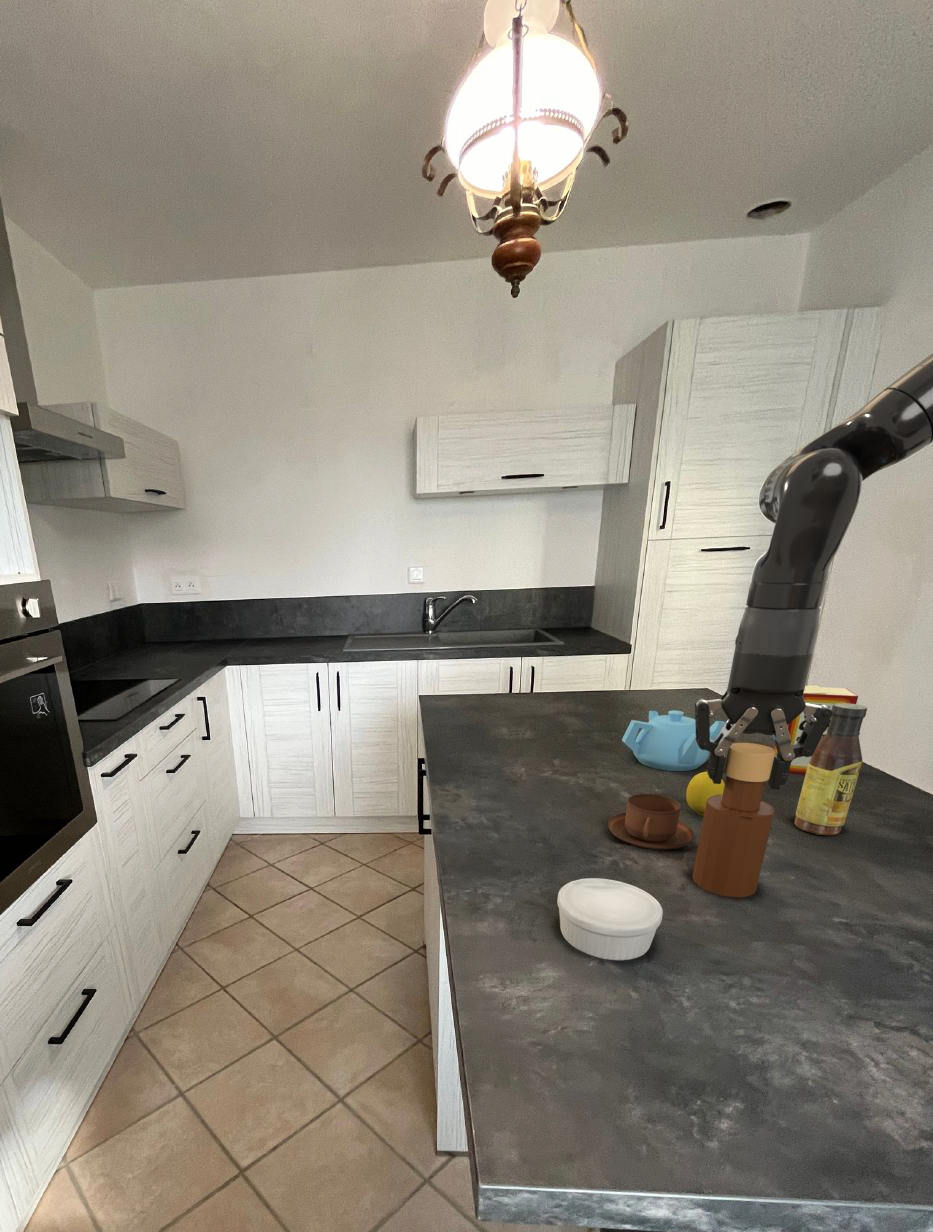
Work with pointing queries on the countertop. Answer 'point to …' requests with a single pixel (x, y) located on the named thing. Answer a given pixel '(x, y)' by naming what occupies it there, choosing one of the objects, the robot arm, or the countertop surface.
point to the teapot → (668, 741)
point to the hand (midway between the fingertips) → (744, 783)
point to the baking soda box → (797, 725)
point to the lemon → (702, 791)
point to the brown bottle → (733, 839)
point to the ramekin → (608, 918)
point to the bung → (749, 762)
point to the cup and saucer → (651, 823)
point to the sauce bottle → (832, 773)
